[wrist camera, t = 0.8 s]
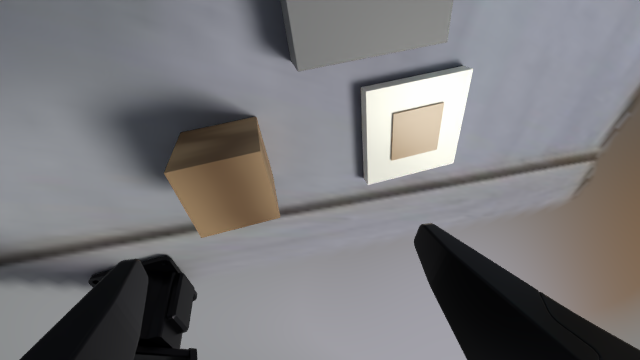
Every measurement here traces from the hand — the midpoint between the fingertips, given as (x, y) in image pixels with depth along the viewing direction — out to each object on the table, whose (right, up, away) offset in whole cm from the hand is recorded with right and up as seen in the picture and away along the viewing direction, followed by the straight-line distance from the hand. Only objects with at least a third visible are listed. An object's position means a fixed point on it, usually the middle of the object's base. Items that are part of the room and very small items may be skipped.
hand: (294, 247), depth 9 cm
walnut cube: (-6, +4, +11) cm, 13 cm away
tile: (+8, +6, +13) cm, 17 cm away
